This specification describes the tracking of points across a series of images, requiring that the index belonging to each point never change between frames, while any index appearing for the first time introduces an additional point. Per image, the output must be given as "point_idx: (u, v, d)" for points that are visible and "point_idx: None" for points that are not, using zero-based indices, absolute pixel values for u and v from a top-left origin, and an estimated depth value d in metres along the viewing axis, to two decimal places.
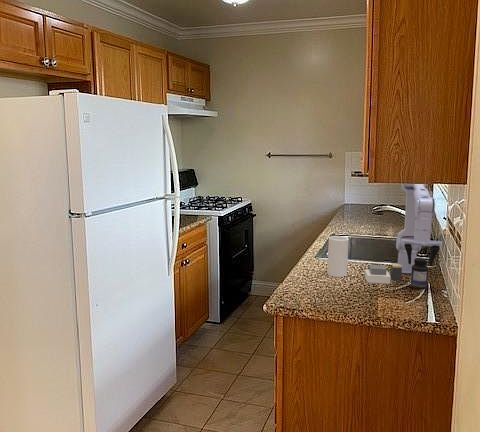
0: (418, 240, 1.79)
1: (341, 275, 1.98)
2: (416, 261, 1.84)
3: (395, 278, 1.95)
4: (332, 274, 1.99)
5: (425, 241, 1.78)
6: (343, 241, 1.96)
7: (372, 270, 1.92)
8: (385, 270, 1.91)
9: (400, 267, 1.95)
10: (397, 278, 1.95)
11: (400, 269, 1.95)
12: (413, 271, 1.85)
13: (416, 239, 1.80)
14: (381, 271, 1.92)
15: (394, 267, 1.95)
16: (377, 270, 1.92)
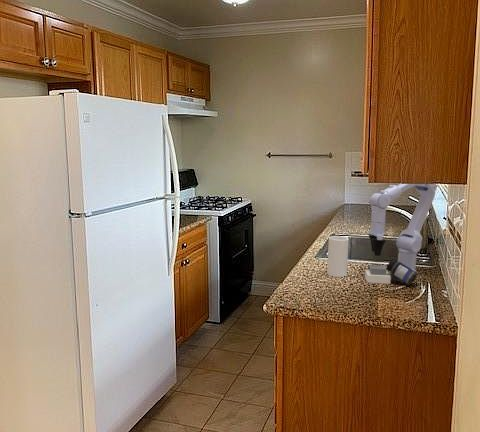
0: None
1: (341, 275, 1.98)
2: (387, 268, 1.92)
3: (395, 278, 1.95)
4: (332, 274, 1.99)
5: (370, 231, 2.00)
6: (343, 241, 1.96)
7: (372, 270, 1.92)
8: (385, 270, 1.91)
9: None
10: (397, 278, 1.95)
11: None
12: (395, 275, 1.90)
13: None
14: (381, 271, 1.92)
15: None
16: (377, 270, 1.92)
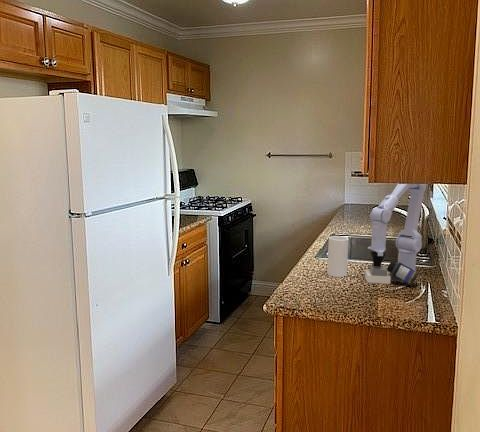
0: None
1: (341, 275, 1.98)
2: (388, 269, 1.91)
3: (395, 278, 1.95)
4: (332, 274, 1.99)
5: (371, 246, 1.95)
6: (343, 241, 1.96)
7: (372, 271, 1.91)
8: (386, 271, 1.90)
9: None
10: (397, 278, 1.95)
11: None
12: (396, 276, 1.89)
13: None
14: (382, 272, 1.90)
15: None
16: (378, 271, 1.90)
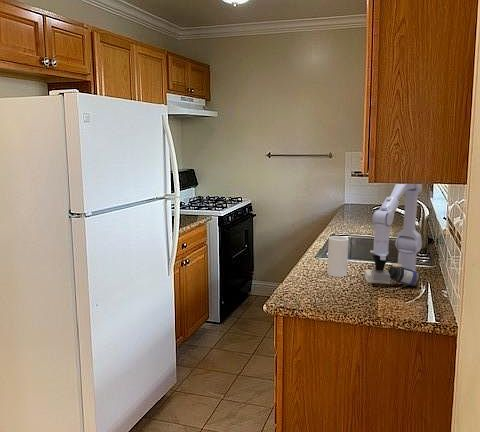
0: None
1: (341, 275, 1.98)
2: (392, 276, 1.85)
3: None
4: (332, 274, 1.99)
5: (373, 250, 1.89)
6: (343, 241, 1.96)
7: (375, 276, 1.84)
8: (388, 276, 1.83)
9: None
10: None
11: None
12: (401, 281, 1.85)
13: None
14: (384, 277, 1.83)
15: None
16: (380, 276, 1.84)
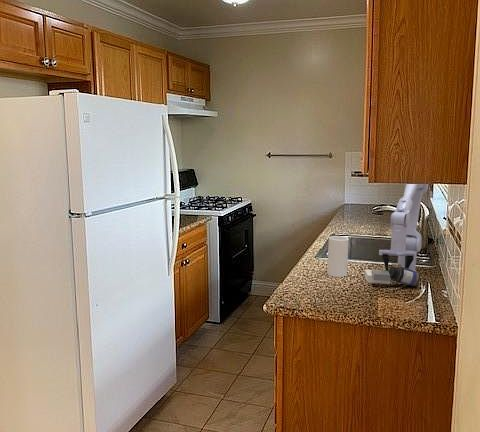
0: (394, 250, 1.93)
1: (341, 275, 1.98)
2: (392, 276, 1.85)
3: None
4: (332, 274, 1.99)
5: (401, 251, 1.92)
6: (343, 241, 1.96)
7: (375, 276, 1.84)
8: (388, 276, 1.83)
9: None
10: None
11: None
12: (401, 281, 1.85)
13: (393, 249, 1.94)
14: (384, 277, 1.83)
15: None
16: (380, 276, 1.84)
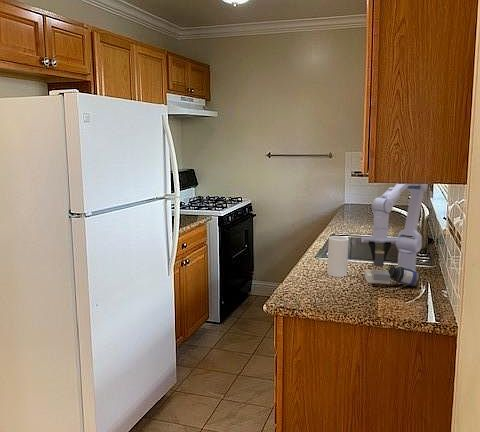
0: (376, 237, 1.91)
1: (341, 275, 1.98)
2: (392, 277, 1.85)
3: (377, 264, 1.92)
4: (332, 274, 1.99)
5: (383, 238, 1.90)
6: (343, 241, 1.96)
7: (375, 276, 1.84)
8: (388, 276, 1.83)
9: (382, 252, 1.91)
10: (379, 264, 1.92)
11: (382, 255, 1.91)
12: (401, 281, 1.85)
13: (375, 236, 1.91)
14: (384, 277, 1.83)
15: (376, 253, 1.92)
16: (380, 276, 1.84)
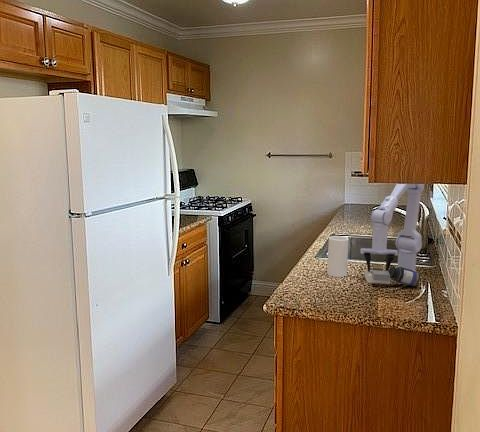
0: (375, 249, 1.91)
1: (341, 275, 1.98)
2: (392, 277, 1.85)
3: None
4: (332, 274, 1.99)
5: (382, 250, 1.91)
6: (343, 241, 1.96)
7: (375, 276, 1.84)
8: (388, 276, 1.83)
9: (381, 268, 1.92)
10: None
11: (381, 270, 1.93)
12: (401, 281, 1.85)
13: (374, 248, 1.92)
14: (384, 277, 1.83)
15: (375, 268, 1.93)
16: (380, 276, 1.84)
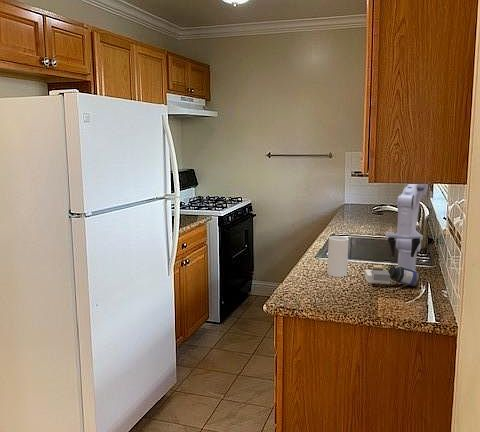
0: (401, 233, 1.92)
1: (341, 275, 1.98)
2: (392, 277, 1.85)
3: None
4: (332, 274, 1.99)
5: (407, 234, 1.91)
6: (343, 241, 1.96)
7: (375, 276, 1.84)
8: (388, 276, 1.83)
9: (381, 268, 1.92)
10: None
11: (381, 270, 1.93)
12: (401, 281, 1.85)
13: (399, 233, 1.92)
14: (384, 277, 1.83)
15: (375, 268, 1.93)
16: (380, 276, 1.84)
